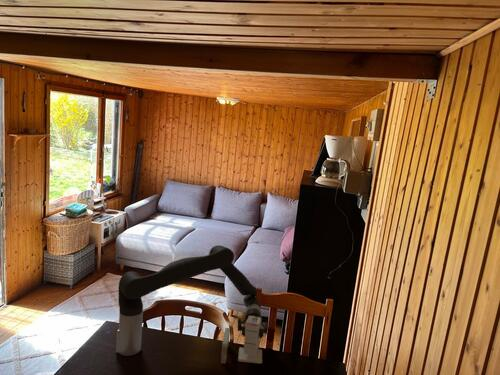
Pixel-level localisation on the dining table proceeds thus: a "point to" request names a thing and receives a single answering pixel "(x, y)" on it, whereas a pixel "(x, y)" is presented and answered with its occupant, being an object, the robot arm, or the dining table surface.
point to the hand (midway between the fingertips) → (252, 335)
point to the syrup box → (252, 335)
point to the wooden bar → (226, 337)
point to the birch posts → (224, 353)
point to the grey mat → (250, 356)
